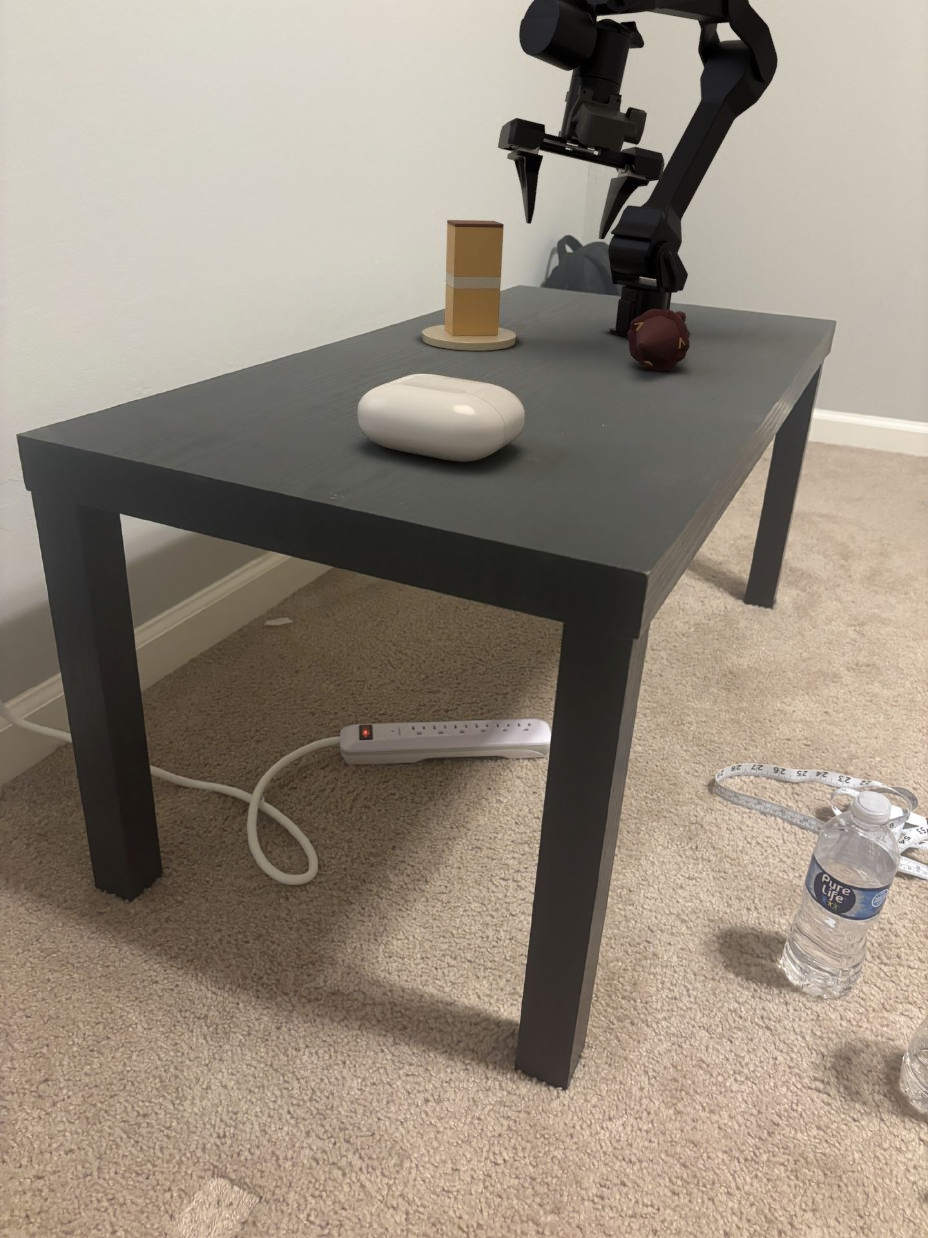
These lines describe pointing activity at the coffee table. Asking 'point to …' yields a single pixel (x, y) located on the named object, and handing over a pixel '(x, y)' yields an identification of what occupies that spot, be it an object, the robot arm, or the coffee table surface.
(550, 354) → the coffee table surface
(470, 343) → the plate
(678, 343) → the maroon dungeon die
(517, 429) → the earbud case
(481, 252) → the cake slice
